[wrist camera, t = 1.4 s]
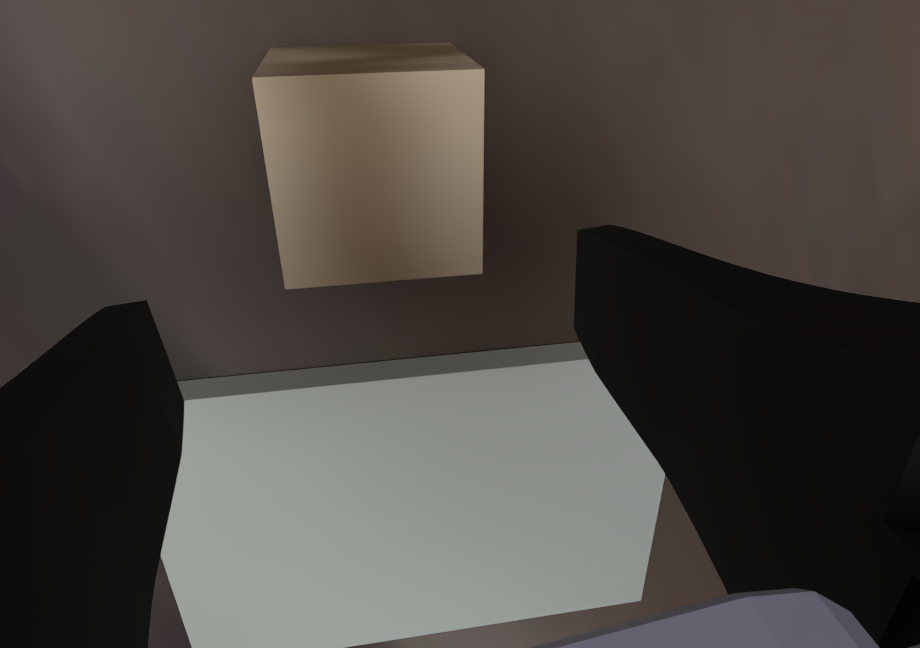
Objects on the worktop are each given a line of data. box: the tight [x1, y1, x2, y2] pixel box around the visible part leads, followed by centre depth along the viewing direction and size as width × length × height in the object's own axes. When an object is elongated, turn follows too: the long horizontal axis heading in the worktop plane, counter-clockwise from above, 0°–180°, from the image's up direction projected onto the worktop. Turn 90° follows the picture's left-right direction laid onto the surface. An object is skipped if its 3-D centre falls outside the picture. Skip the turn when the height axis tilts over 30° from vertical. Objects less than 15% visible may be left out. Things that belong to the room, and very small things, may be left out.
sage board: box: [161, 342, 665, 648], centre depth 27 cm, size 20×14×1 cm
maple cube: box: [252, 42, 484, 290], centre depth 18 cm, size 5×5×5 cm
